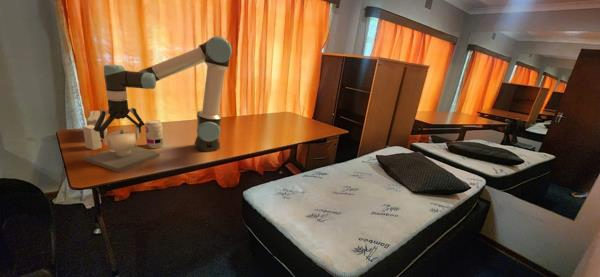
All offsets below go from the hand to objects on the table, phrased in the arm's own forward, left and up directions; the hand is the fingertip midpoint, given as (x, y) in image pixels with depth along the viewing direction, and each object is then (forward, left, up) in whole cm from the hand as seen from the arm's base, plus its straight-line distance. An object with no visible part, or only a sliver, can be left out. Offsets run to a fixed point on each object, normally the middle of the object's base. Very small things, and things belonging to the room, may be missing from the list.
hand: (122, 141), depth 118 cm
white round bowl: (0, 0, -2) cm, 2 cm away
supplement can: (+2, -20, -9) cm, 22 cm away
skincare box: (+23, -1, -9) cm, 25 cm away
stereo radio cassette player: (+38, -14, -10) cm, 42 cm away
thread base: (0, 0, -9) cm, 9 cm away
